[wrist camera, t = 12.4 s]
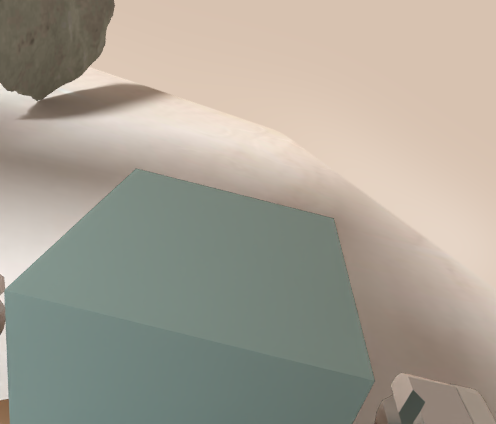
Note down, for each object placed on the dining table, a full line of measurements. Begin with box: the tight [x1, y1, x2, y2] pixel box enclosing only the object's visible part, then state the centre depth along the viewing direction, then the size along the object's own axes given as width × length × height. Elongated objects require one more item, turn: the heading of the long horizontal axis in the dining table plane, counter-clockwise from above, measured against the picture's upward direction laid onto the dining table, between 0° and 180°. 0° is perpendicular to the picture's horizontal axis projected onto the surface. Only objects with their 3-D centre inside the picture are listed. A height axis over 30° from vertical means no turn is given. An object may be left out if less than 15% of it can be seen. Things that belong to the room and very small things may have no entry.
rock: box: [0, 0, 115, 101], centre depth 45 cm, size 27×6×20 cm, turn 174°
